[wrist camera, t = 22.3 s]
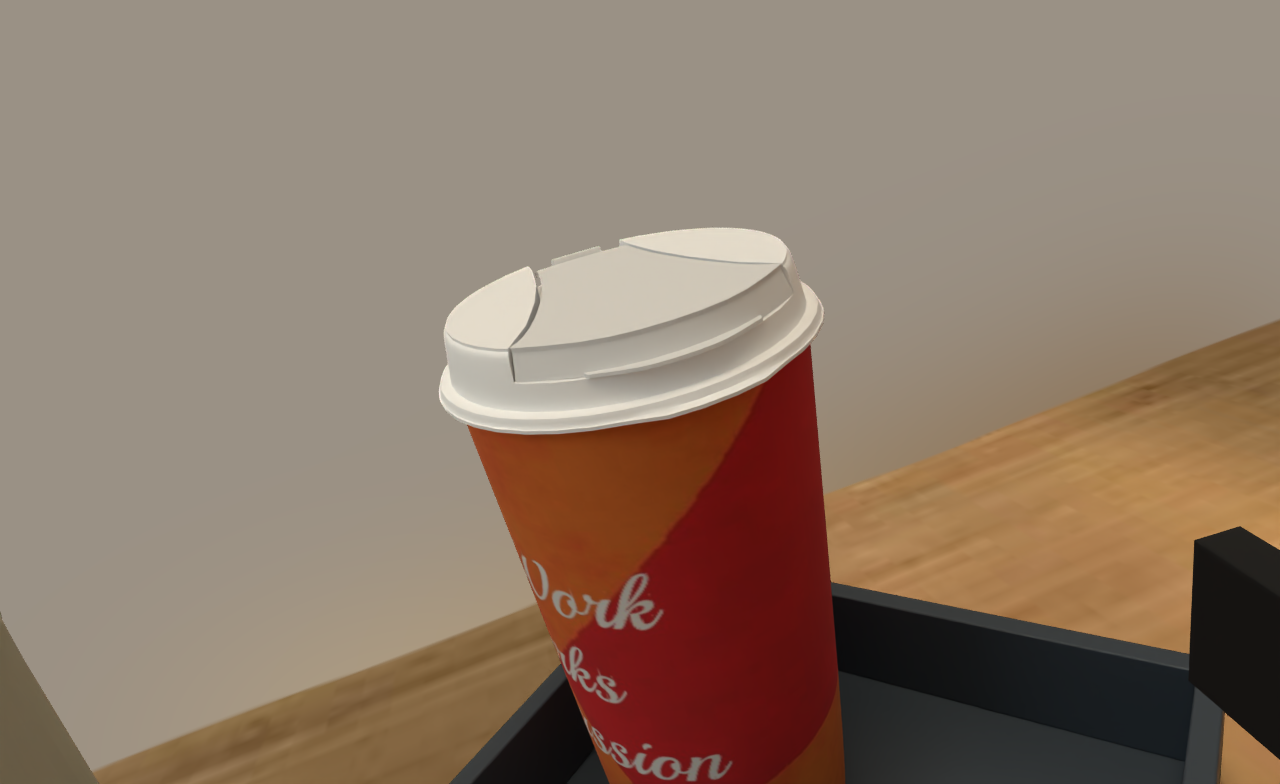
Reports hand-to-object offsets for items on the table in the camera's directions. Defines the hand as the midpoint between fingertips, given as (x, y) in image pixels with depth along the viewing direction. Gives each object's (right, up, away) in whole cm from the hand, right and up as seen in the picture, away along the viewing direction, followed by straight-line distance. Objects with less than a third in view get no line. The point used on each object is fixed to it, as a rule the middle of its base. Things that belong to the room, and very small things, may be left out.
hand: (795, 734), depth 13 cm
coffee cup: (0, -6, +11) cm, 13 cm away
